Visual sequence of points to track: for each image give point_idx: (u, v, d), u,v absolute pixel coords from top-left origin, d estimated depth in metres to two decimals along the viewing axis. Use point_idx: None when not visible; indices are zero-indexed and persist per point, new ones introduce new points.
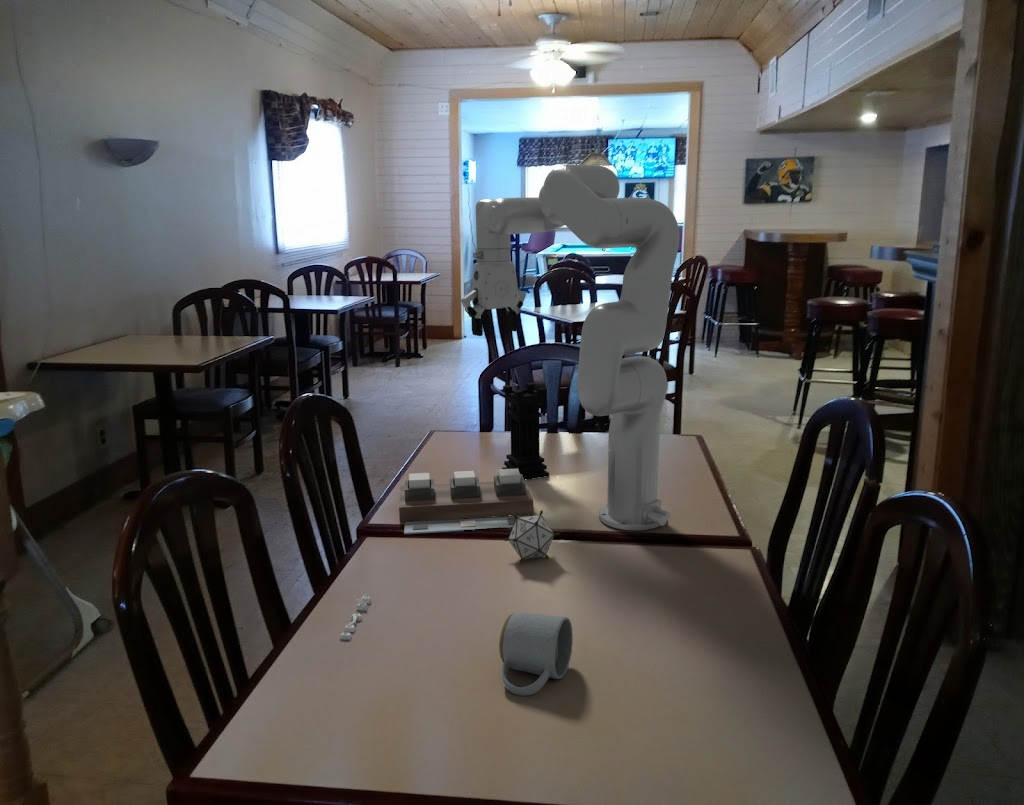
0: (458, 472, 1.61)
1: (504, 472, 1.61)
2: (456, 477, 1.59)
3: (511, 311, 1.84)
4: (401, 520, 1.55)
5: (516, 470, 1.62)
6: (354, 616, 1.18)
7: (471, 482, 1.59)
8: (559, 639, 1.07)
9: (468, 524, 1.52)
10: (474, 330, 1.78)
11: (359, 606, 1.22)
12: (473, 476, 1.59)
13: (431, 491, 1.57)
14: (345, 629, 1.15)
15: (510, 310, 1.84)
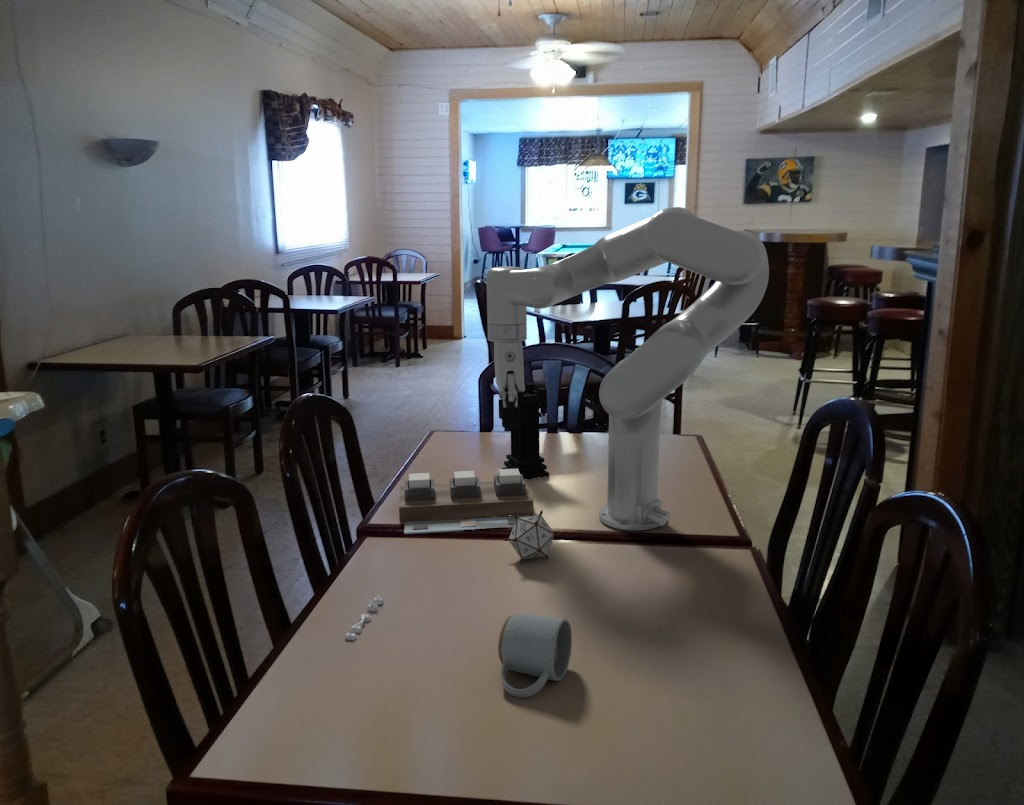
0: (458, 472, 1.61)
1: (504, 472, 1.61)
2: (456, 477, 1.59)
3: (507, 395, 1.61)
4: (401, 520, 1.55)
5: (516, 470, 1.62)
6: (362, 617, 1.18)
7: (471, 482, 1.59)
8: (558, 641, 1.07)
9: (468, 524, 1.52)
10: (512, 422, 1.54)
11: (370, 607, 1.21)
12: (473, 476, 1.59)
13: (431, 491, 1.57)
14: (351, 629, 1.15)
15: None
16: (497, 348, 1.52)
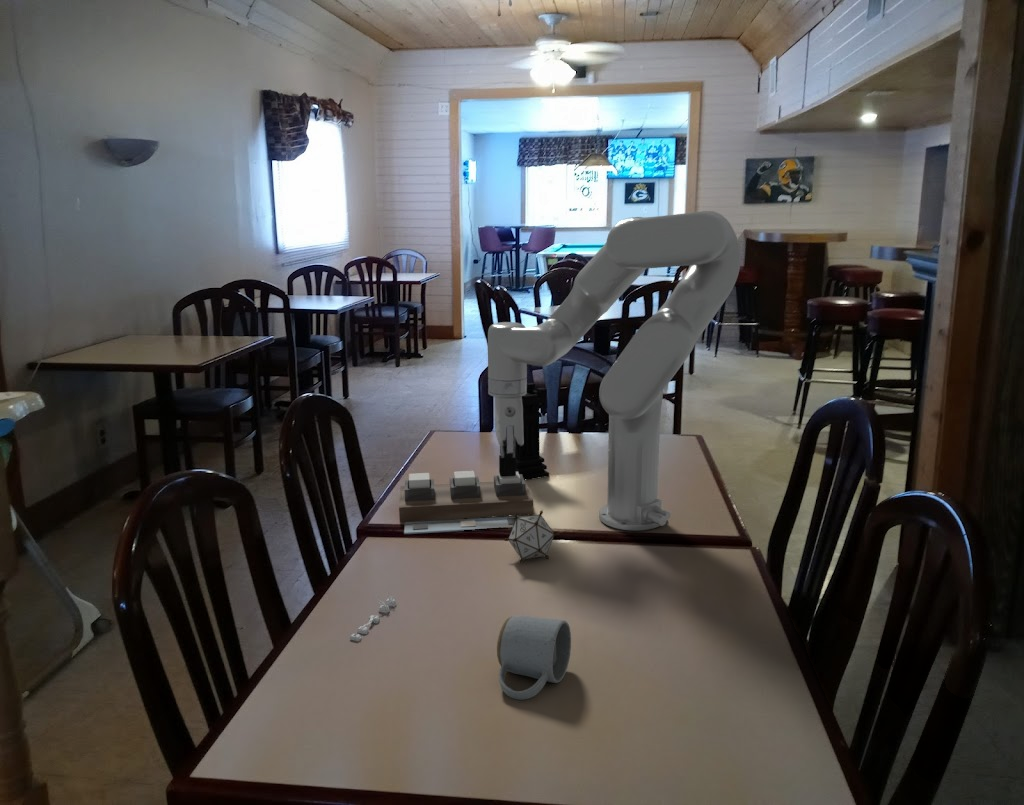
0: (458, 472, 1.61)
1: None
2: (456, 477, 1.59)
3: None
4: (401, 520, 1.55)
5: (516, 473, 1.62)
6: (371, 618, 1.18)
7: (471, 482, 1.59)
8: (557, 642, 1.07)
9: (468, 524, 1.52)
10: (509, 471, 1.60)
11: (381, 608, 1.21)
12: (473, 476, 1.59)
13: (431, 491, 1.57)
14: (358, 630, 1.15)
15: None
16: (497, 403, 1.54)
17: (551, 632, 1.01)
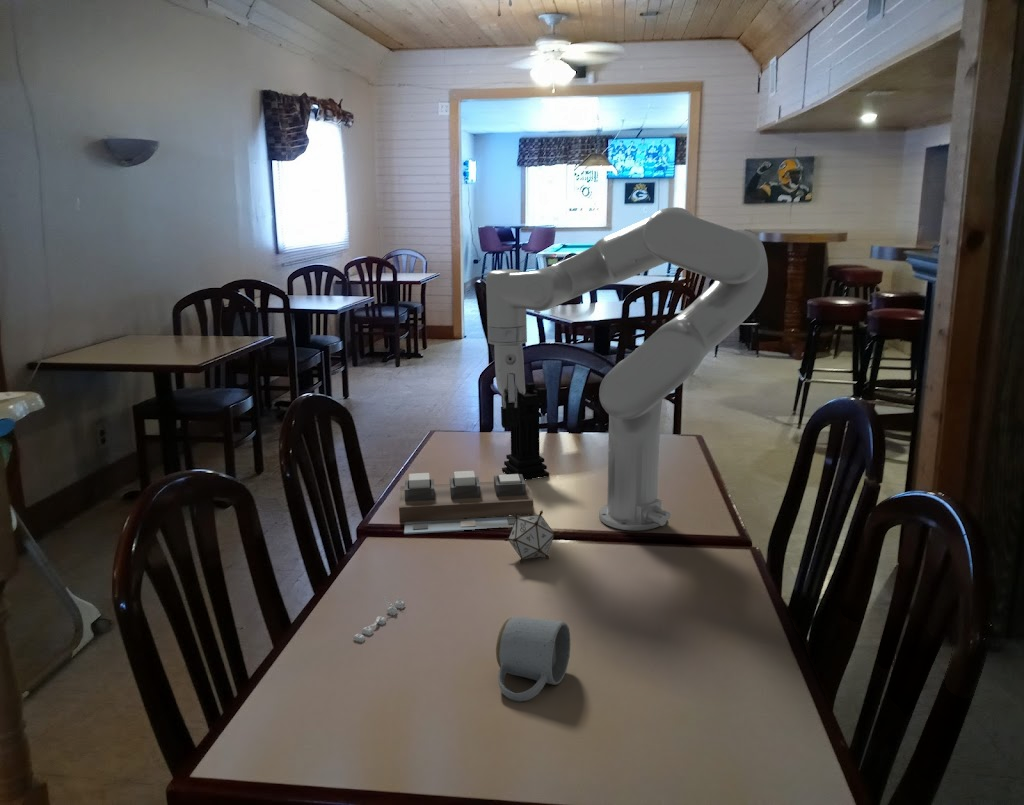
0: (458, 472, 1.61)
1: (504, 478, 1.61)
2: (456, 477, 1.59)
3: None
4: (401, 520, 1.55)
5: (516, 475, 1.62)
6: (377, 619, 1.17)
7: (471, 482, 1.59)
8: (557, 644, 1.06)
9: (468, 524, 1.52)
10: (512, 422, 1.57)
11: (389, 609, 1.20)
12: (473, 476, 1.59)
13: (431, 491, 1.57)
14: (362, 630, 1.15)
15: None
16: (497, 351, 1.52)
17: (550, 634, 1.00)
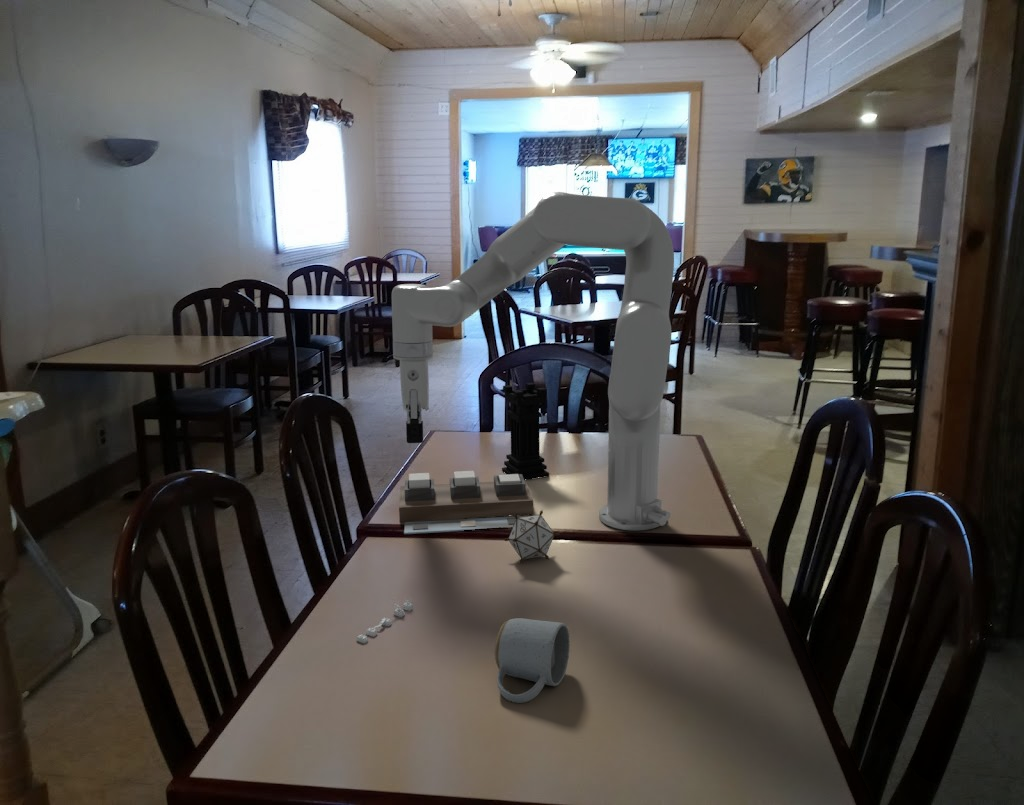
0: (458, 472, 1.61)
1: (504, 478, 1.61)
2: (456, 477, 1.59)
3: None
4: (401, 520, 1.55)
5: (516, 475, 1.62)
6: (382, 620, 1.17)
7: (471, 482, 1.59)
8: (556, 645, 1.06)
9: (468, 524, 1.52)
10: (416, 437, 1.56)
11: (395, 611, 1.20)
12: (473, 476, 1.59)
13: (431, 491, 1.57)
14: (366, 631, 1.15)
15: None
16: (401, 366, 1.51)
17: (549, 635, 1.00)
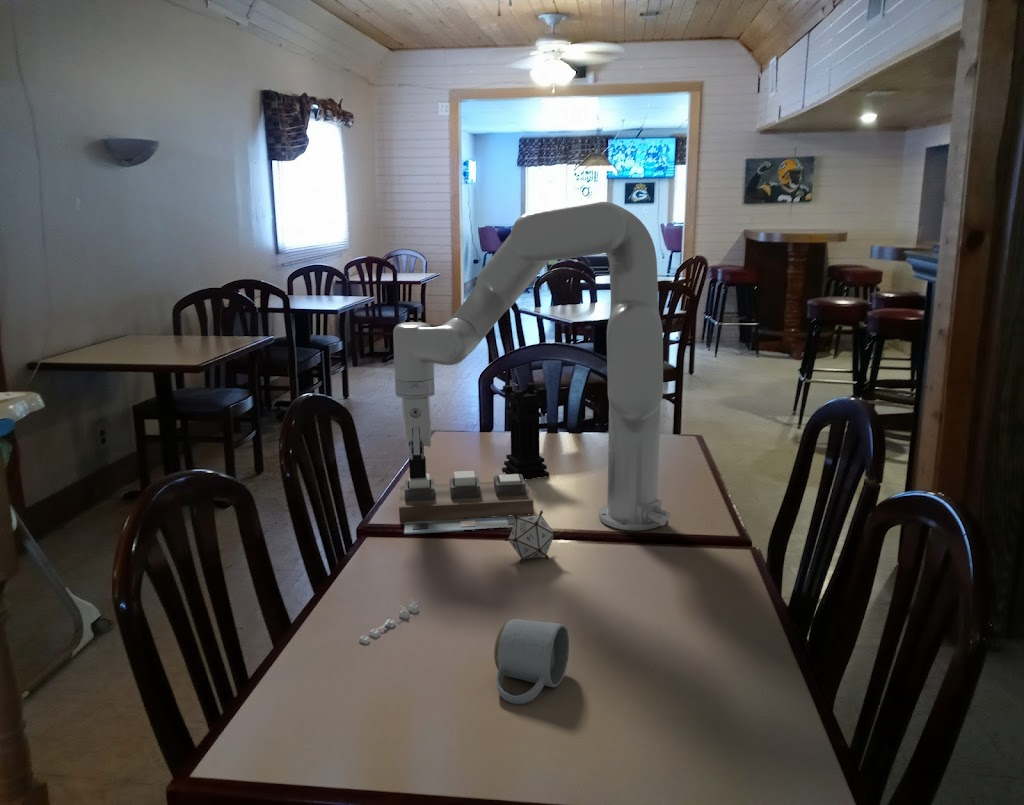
0: (458, 472, 1.61)
1: (504, 478, 1.61)
2: (456, 477, 1.59)
3: None
4: (401, 520, 1.55)
5: (516, 475, 1.62)
6: (386, 622, 1.16)
7: (471, 482, 1.59)
8: (555, 646, 1.06)
9: (468, 524, 1.52)
10: (419, 473, 1.58)
11: (400, 613, 1.19)
12: (473, 476, 1.59)
13: (431, 491, 1.57)
14: (369, 633, 1.14)
15: None
16: (403, 404, 1.52)
17: (549, 636, 1.00)
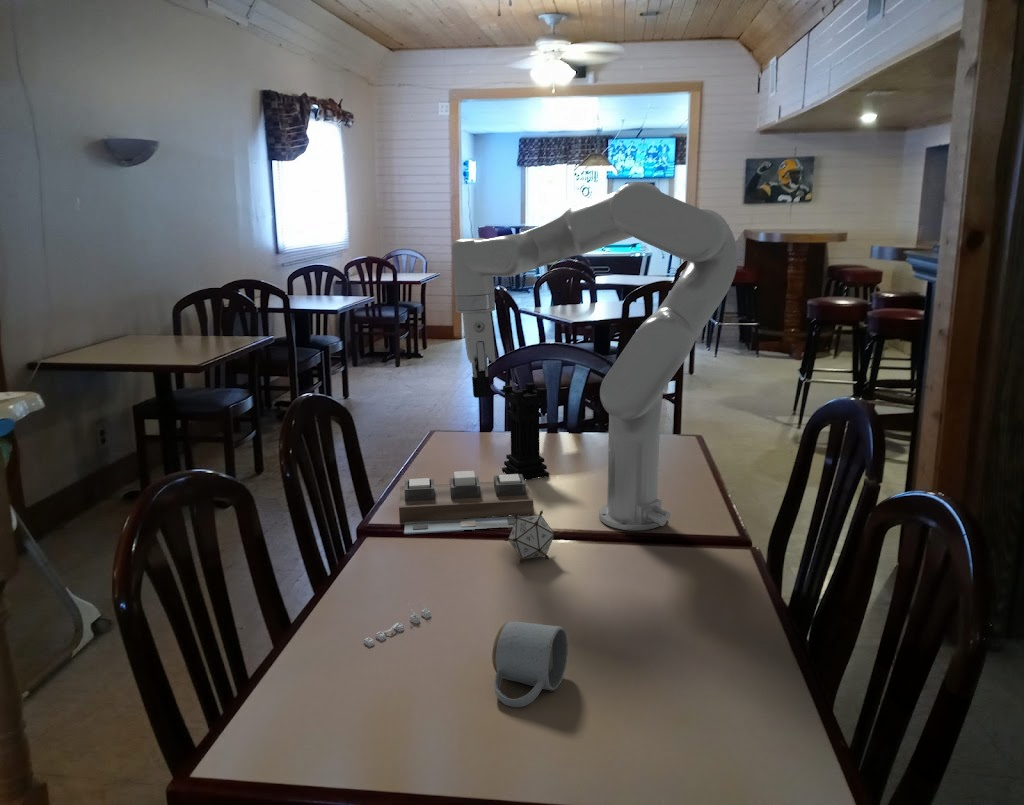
0: (458, 472, 1.61)
1: (504, 478, 1.61)
2: (456, 477, 1.59)
3: None
4: (401, 520, 1.55)
5: (516, 475, 1.62)
6: (394, 625, 1.15)
7: (471, 482, 1.59)
8: (554, 649, 1.05)
9: (468, 524, 1.52)
10: (483, 391, 1.57)
11: (411, 617, 1.18)
12: (473, 476, 1.59)
13: (431, 491, 1.57)
14: (376, 635, 1.14)
15: None
16: (466, 319, 1.52)
17: (547, 639, 0.99)
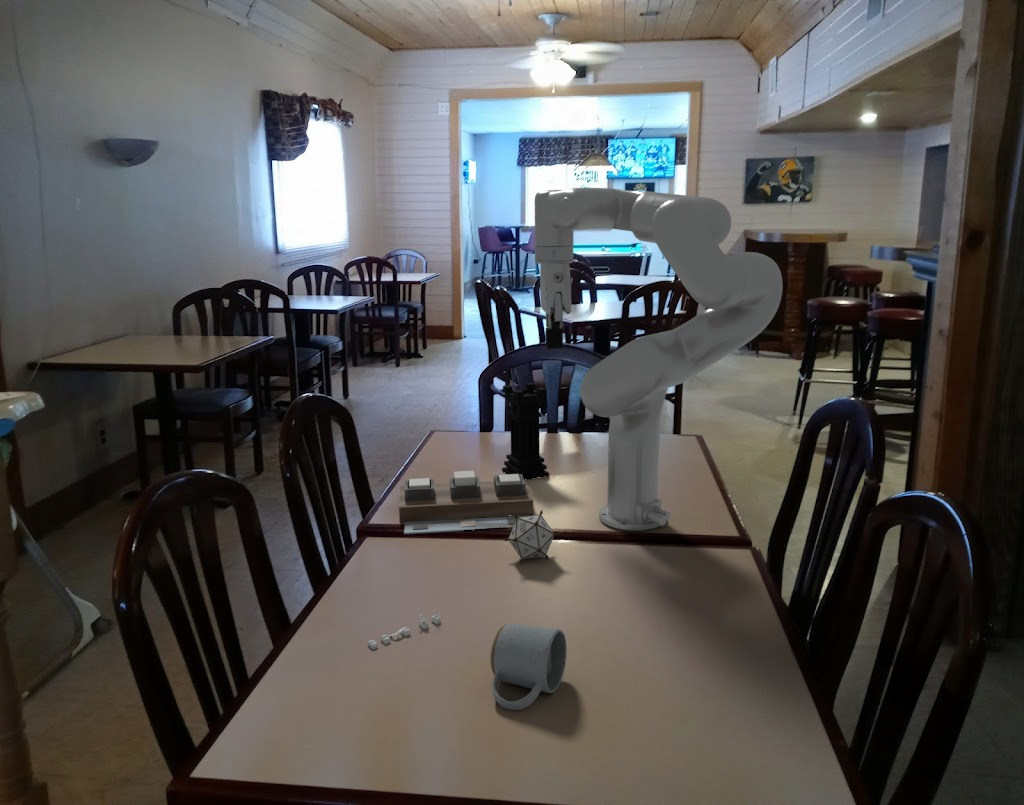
0: (458, 472, 1.61)
1: (504, 478, 1.61)
2: (456, 477, 1.59)
3: None
4: (401, 520, 1.55)
5: (516, 475, 1.62)
6: (401, 629, 1.14)
7: (471, 482, 1.59)
8: (553, 651, 1.04)
9: (468, 524, 1.52)
10: (556, 342, 1.60)
11: (420, 622, 1.17)
12: (473, 476, 1.59)
13: (431, 491, 1.57)
14: (381, 638, 1.13)
15: None
16: (545, 270, 1.54)
17: (545, 641, 0.99)
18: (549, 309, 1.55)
